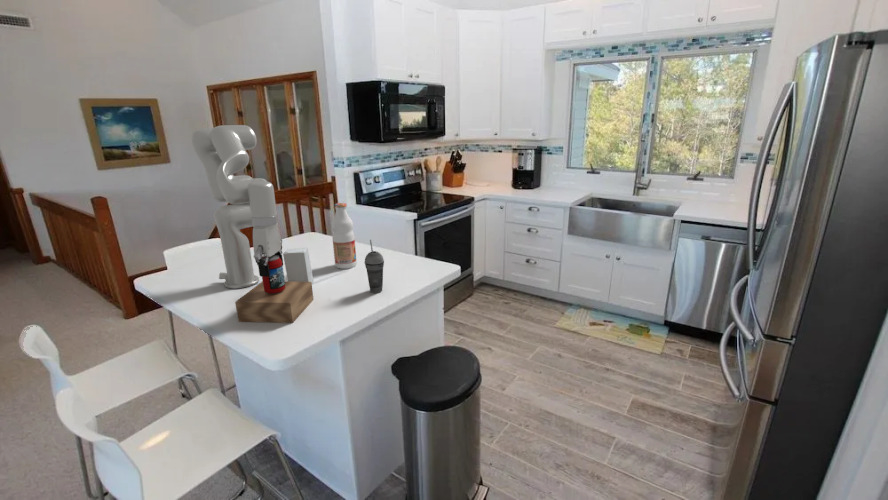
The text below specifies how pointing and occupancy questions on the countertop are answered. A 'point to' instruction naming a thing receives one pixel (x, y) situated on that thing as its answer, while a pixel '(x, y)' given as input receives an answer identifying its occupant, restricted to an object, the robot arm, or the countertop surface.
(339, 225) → the fruit juice
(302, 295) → the walnut block
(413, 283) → the countertop surface
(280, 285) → the beverage can
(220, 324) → the countertop surface
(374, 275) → the beverage cup
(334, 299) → the countertop surface
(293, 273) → the skincare box
